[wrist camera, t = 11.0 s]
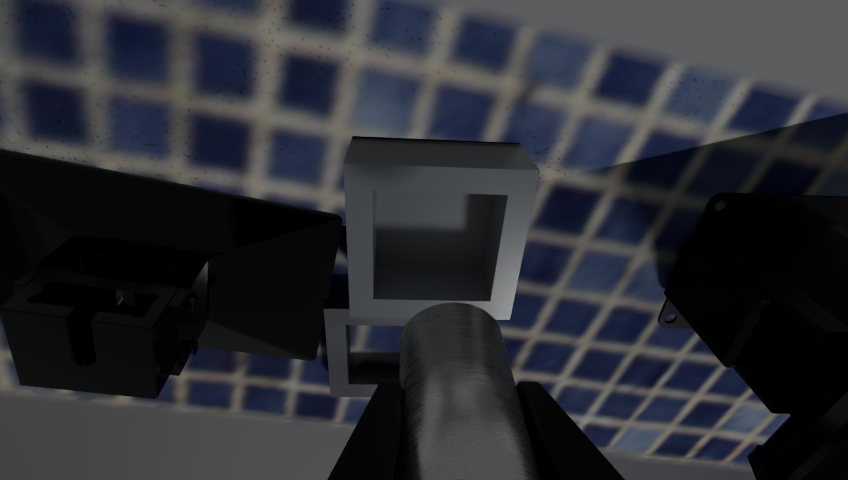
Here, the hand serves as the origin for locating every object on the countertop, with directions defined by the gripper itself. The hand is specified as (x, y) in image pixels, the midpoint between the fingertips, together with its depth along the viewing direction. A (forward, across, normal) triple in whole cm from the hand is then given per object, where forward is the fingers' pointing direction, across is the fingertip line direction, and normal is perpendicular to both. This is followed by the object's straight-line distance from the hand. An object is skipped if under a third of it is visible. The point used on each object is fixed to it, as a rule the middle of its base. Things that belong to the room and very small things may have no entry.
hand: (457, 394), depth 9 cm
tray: (+8, 0, 0) cm, 8 cm away
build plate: (+10, +11, +1) cm, 15 cm away
